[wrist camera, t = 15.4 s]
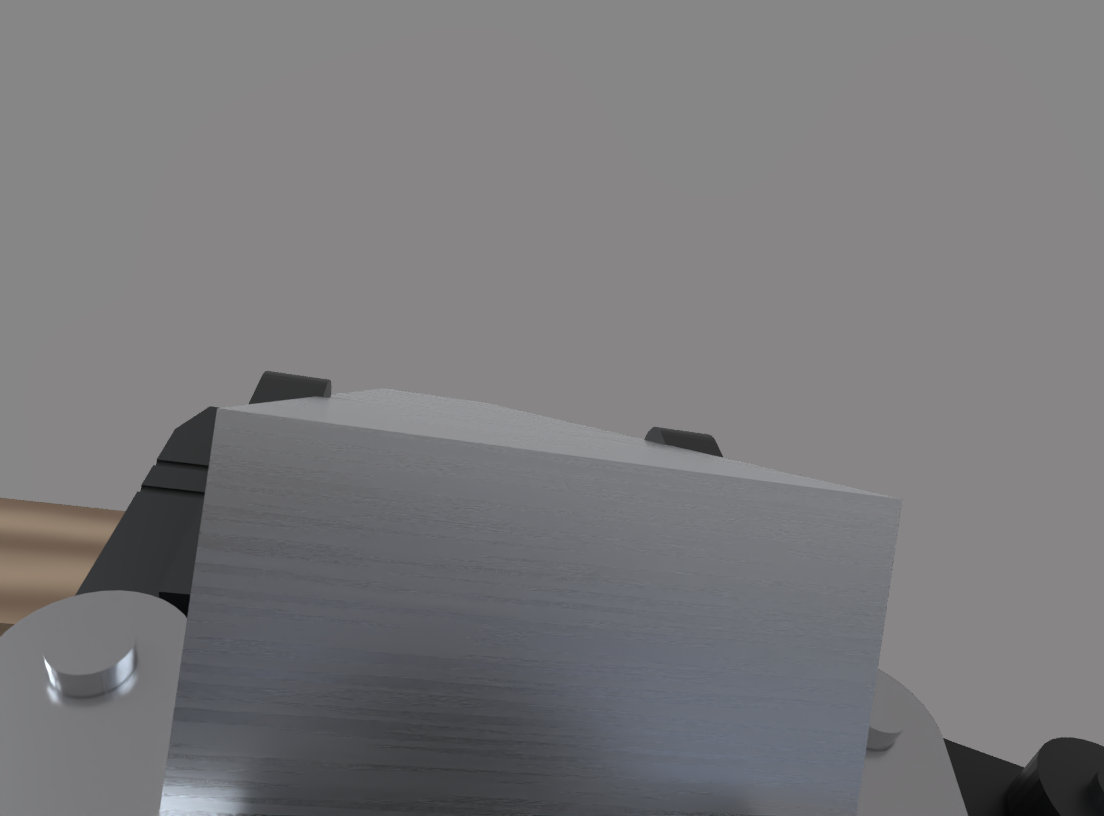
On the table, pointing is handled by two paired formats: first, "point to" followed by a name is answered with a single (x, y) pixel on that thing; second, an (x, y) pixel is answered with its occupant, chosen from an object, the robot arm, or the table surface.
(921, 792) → the robot arm
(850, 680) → the aluminium bar
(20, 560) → the walnut pedestal
